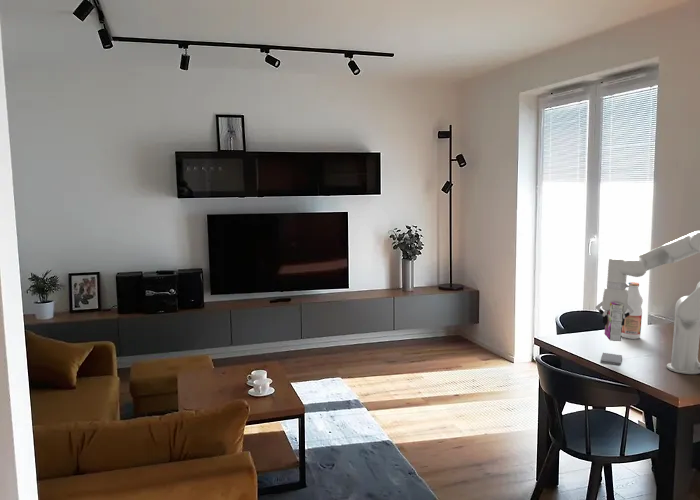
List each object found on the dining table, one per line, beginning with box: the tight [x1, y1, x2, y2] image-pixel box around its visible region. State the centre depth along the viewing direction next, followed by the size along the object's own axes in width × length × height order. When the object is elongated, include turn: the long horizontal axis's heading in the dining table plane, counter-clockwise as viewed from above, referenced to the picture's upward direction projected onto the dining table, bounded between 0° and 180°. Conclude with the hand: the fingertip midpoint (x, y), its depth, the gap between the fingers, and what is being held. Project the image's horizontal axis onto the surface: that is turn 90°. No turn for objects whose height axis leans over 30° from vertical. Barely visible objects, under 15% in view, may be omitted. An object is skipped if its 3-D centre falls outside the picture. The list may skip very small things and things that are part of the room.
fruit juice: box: [621, 281, 644, 340], centre depth 297 cm, size 9×9×28 cm
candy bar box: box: [604, 303, 624, 342], centre depth 257 cm, size 11×5×16 cm, turn 168°
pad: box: [600, 352, 623, 366], centre depth 259 cm, size 8×13×1 cm, turn 153°
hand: (613, 325), depth 258 cm, fingers closed on candy bar box, 5 cm apart
